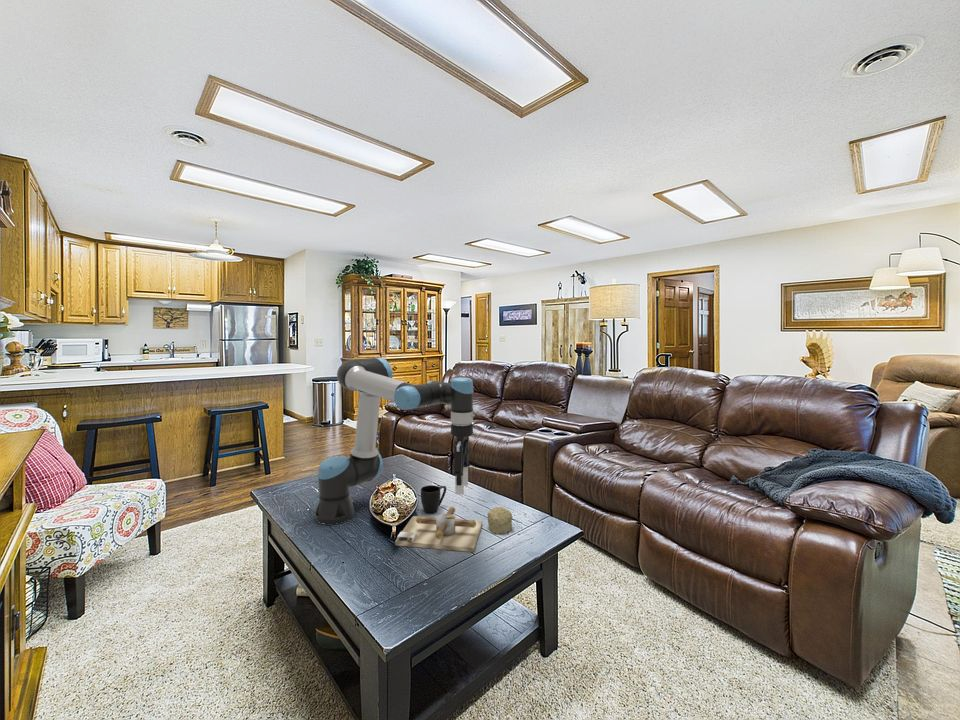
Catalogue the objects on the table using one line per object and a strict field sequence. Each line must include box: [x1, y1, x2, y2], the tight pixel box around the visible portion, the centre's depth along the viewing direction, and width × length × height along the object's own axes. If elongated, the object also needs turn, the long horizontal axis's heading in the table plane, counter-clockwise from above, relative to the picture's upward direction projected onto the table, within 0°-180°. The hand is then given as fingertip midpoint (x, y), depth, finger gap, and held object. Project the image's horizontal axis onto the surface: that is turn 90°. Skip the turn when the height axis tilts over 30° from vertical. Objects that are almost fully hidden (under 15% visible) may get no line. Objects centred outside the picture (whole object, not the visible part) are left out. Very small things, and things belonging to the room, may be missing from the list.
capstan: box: [416, 506, 477, 539], centre depth 151 cm, size 23×23×6 cm
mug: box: [420, 484, 447, 515], centre depth 173 cm, size 8×12×10 cm
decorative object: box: [487, 506, 513, 535], centre depth 157 cm, size 9×10×10 cm
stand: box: [394, 515, 483, 553], centre depth 152 cm, size 28×20×3 cm
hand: (461, 489), depth 141 cm, fingers open, 7 cm apart
